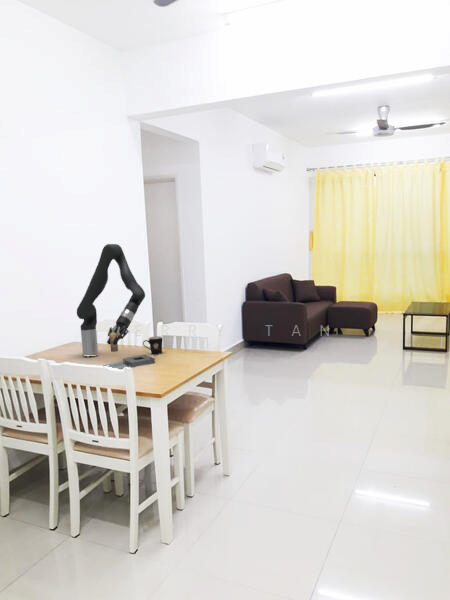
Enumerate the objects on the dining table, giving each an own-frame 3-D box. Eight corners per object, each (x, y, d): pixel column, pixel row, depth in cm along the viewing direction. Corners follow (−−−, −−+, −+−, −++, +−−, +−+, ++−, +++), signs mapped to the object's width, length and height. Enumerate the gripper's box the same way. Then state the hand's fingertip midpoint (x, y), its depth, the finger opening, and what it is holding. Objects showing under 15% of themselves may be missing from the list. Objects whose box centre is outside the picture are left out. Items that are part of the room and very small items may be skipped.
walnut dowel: (109, 351, 276) (108, 333, 275) (116, 349, 278) (115, 332, 277) (112, 352, 272) (110, 334, 271) (119, 350, 274) (117, 333, 273)
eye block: (123, 362, 286) (122, 358, 286) (145, 358, 293) (145, 354, 293) (131, 367, 274) (131, 362, 274) (154, 362, 281) (154, 358, 281)
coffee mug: (165, 352, 309) (164, 336, 307) (159, 355, 301) (158, 339, 299) (149, 351, 313) (148, 336, 311) (142, 354, 305) (141, 338, 303)
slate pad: (103, 366, 280) (103, 365, 280) (119, 363, 285) (119, 362, 285) (111, 370, 268) (110, 369, 268) (128, 367, 273) (128, 366, 273)
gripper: (112, 314, 283) (98, 339, 275) (130, 315, 275) (115, 341, 267) (120, 322, 288) (106, 346, 280) (137, 323, 280) (123, 348, 271)
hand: (111, 343), depth 273 cm, fingers closed on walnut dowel, 4 cm apart
